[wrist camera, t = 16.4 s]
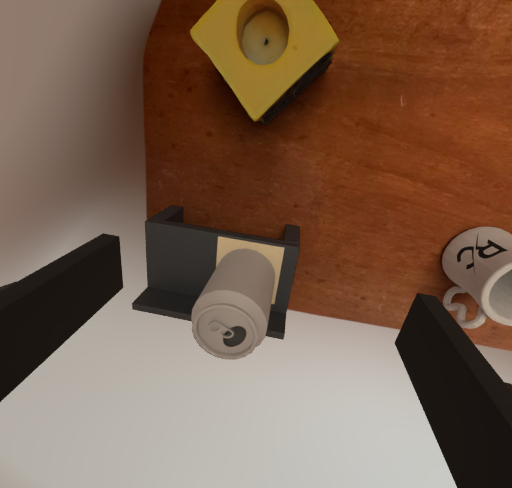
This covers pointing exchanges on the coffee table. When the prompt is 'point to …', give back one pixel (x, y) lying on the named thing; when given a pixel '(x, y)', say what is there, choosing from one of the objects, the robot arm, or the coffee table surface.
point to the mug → (481, 274)
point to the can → (235, 305)
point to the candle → (266, 50)
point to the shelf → (207, 265)
